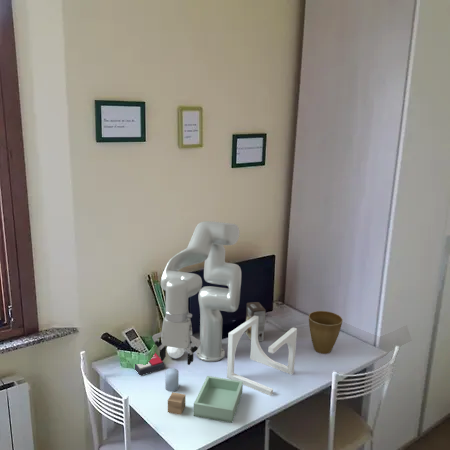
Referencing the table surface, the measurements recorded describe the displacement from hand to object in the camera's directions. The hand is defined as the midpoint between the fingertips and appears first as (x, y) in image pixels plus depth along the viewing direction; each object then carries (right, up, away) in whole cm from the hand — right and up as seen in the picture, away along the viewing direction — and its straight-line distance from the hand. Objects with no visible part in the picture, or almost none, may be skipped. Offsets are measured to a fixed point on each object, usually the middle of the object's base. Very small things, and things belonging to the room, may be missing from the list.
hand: (176, 360), depth 163 cm
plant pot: (+61, -10, +51) cm, 80 cm away
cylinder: (-4, -16, +19) cm, 25 cm away
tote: (+15, -19, +10) cm, 26 cm away
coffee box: (+31, -6, +60) cm, 68 cm away
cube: (-1, -19, +7) cm, 21 cm away
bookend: (+32, -15, +29) cm, 46 cm away
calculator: (-17, -12, +35) cm, 41 cm away
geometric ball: (-5, -10, +41) cm, 43 cm away
